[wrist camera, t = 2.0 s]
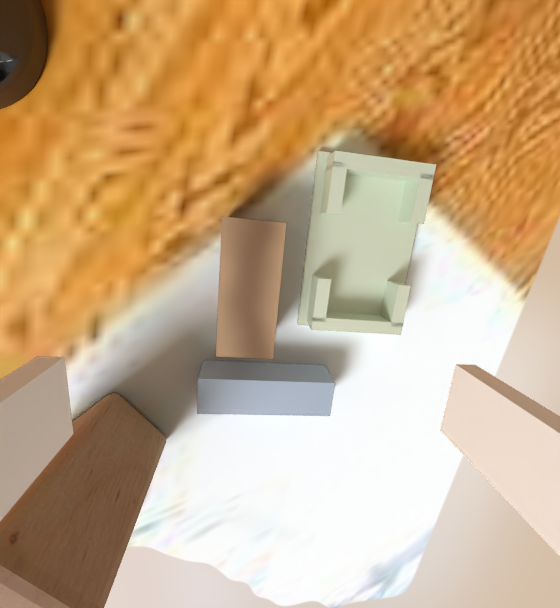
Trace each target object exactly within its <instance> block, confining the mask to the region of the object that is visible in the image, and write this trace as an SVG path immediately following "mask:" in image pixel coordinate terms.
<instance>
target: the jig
mask: <svg viewBox="0 0 560 608" xmlns="http://www.w3.org/2000/svg"><path fill="white" fill-rule="evenodd" d="M435 169H436V164H429V163H422V162H414V161H407V160H400V159H393V158H386V157H379V156H371V155H364V154H357V153H350V152H343V151H336V150H335V151H334V152H333V153H331V152H323V151H318V152H317V160H316V168H315V177H314V185H313V194H312V202H311V210H310V219H309V227H308V236H307V244H306V253H305V261H304V270H303V278H302V287H301V295H300V303H299V312H298V320H297V323H298V325H309V326H310V328H311V330H328V331H345V332H362V333H379V334H396V335H401V331H402V326H403V321H404V316H405V312H406V307H407V302H408V297H409V293H410V288H411V286H410V285H407V284H405V283H406V278H407V273H408V268H409V263H410V258H411V253H412V248H413V243H414V239H415V234H416V229H417V224H424V221H425V216H426V211H427V207H428V202H429V197H430V192H431V188H432V183H433V178H434V173H435Z"/></svg>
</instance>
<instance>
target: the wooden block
mask: <svg viewBox="0 0 560 608" xmlns="http://www.w3.org/2000/svg"><path fill="white" fill-rule="evenodd" d="M72 425H73V435H72V436H71V437H70V438H69V440H68V441H67V442H66V443H65V444H64V446H63V447H62V448H61V449H60V450H59V452H58V453H57V454H56V455H55V456H54V458H53V459H52V460H51V461H50V462H49V464H48V465H47V466H46V467H45V468H44V470H43V471H42V472H41V473H40V474H39V476H38V477H37V478H36V479H35V480H34V482H33V483H32V484H31V485H30V486H29V488H28V489H27V490H26V491H25V492H24V494H23V495H22V496H21V497H20V498H19V499H18V501H17V502H16V503H15V504H14V505H13V507H12V508H11V509H10V510H9V511H8V513H7V514H6V515H5V516H4V517H3V519H2V520H1V521H0V608H104V606H105V604H106V601H107V598H108V596H109V593H110V590H111V588H112V585H113V582H114V579H115V577H116V574H117V571H118V568H119V566H120V563H121V560H122V558H123V555H124V553H125V550H126V547H127V545H128V542H129V539H130V537H131V534H132V531H133V529H134V526H135V523H136V521H137V518H138V515H139V513H140V510H141V507H142V505H143V502H144V499H145V497H146V494H147V491H148V489H149V486H150V483H151V481H152V478H153V475H154V473H155V470H156V467H157V465H158V462H159V459H160V456H161V454H162V451H163V448H164V446H165V443H166V438H165V436H164V435H163V434H162V433H161V432H160V431H159V430H158V429H157V428H156V427H154V426H153V425H152V424H151V423H150V422H149V421H148V420H147V419H146V418H144V417H143V416H142V415H141V414H140V413H139V412H138V411H137V410H136V409H135V408H133V407H132V406H131V405H130V404H129V403H128V402H127V401H126V400H125V399H123V398H122V397H121V396H120V395H119V394H117V393H112V394H110V395H107V396H105V397H104V398H103V399H101V400H100V401H99V402H98V403H96V404H95V405H94V406H92V407H91V408H90V409H89V410H87V411H86V412H85V413H83V414H82V415H81V416H80V417H78V418H77V419H76V420H74V421H73V422H72Z"/></svg>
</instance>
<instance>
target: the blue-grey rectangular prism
mask: <svg viewBox="0 0 560 608" xmlns="http://www.w3.org/2000/svg"><path fill="white" fill-rule="evenodd" d="M334 387H335V382H334V380H333V378H332V377H331V375H330V373H329V371H328V369H327V368H326V366H325V365H311V364H286V363H261V362H236V361H211V360H204V361H203V364H202V367H201V370H200V373H199V376H198V388H197V414H246V415H303V416H330V413H331V407H332V400H333V394H334Z"/></svg>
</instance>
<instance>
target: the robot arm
mask: <svg viewBox="0 0 560 608" xmlns="http://www.w3.org/2000/svg"><path fill="white" fill-rule="evenodd" d="M46 53H47V26H46V20H45V15H44V11H43V8H42V5H41V2H40V0H0V109H1V108H4V107H7V106H9V105H12V104H13V103H15V102H17V101H18V100H20V99H21V98H23V97H24V96H25V95H26V94H27V93H28V92H29V91H30V90H31V89H32V88H33V86H34V85H35V83H36V82H37V80H38V78H39V76H40V74H41V72H42V69H43V66H44V63H45V59H46ZM440 430H441V431H442V432H443V434H444V435H445V436H446V437H447V438H448V439H449V440H450V441H451V442H452V443H453V444H454V445H455V446H456V447H457V448H458V449H459V450H460V451H461V453H462V454H463V455H464V456H465V457H466V458H467V459H468V460H469V461H470V462H471V463H472V464H473V465H474V466H475V467H476V468H477V469H478V470H479V472H480V473H481V474H482V475H483V476H484V477H485V478H486V479H487V480H488V481H489V482H490V483H491V484H492V485H493V486H494V487H495V488H496V489H497V491H498V492H499V493H500V494H501V495H502V496H503V497H504V498H505V499H506V500H507V501H508V502H509V503H510V504H511V505H512V506H513V507H514V509H515V510H516V511H517V512H518V513H519V514H520V515H521V516H522V517H523V518H524V519H525V520H526V521H527V522H528V523H529V524H530V525H531V526H532V527H533V529H534V530H535V531H536V532H537V533H538V534H539V535H540V536H541V537H542V538H543V539H544V540H545V541H546V542H547V543H548V544H549V545H550V546H551V548H552V549H553V550H554V551H555V552H556V553H557V554H558V555H559V556H560V416H558V415H556V414H555V413H553V412H552V411H550V410H548V409H547V408H545V407H543V406H542V405H540V404H539V403H537V402H535V401H534V400H532V399H530V398H529V397H527V396H525V395H524V394H522V393H520V392H519V391H517V390H515V389H514V388H512V387H511V386H509V385H507V384H506V383H504V382H502V381H501V380H499V379H497V378H496V377H494V376H493V375H491V374H489V373H488V372H486V371H484V370H483V369H481V368H479V367H478V366H476V365H456V366H455V370H454V374H453V379H452V383H451V387H450V391H449V396H448V400H447V404H446V408H445V412H444V417H443V421H442V425H441V429H440ZM72 435H73V425H72V417H71V408H70V399H69V391H68V382H67V373H66V365H65V357H44V356H37V357H36V358H34V359H33V360H31V361H29V362H28V363H26V364H24V365H23V366H21V367H20V368H18V369H16V370H15V371H13V372H12V373H10V374H8V375H7V376H5V377H4V378H2V379H0V521H1V520H2V519H3V517H4V516H5V515H6V514H7V513H8V511H9V510H10V509H11V508H12V507H13V505H14V504H15V503H16V502H17V501H18V499H19V498H20V497H21V496H22V495H23V494H24V492H25V491H26V490H27V489H28V488H29V486H30V485H31V484H32V483H33V482H34V480H35V479H36V478H37V477H38V476H39V474H40V473H41V472H42V471H43V470H44V468H45V467H46V466H47V465H48V464H49V462H50V461H51V460H52V459H53V458H54V456H55V455H56V454H57V453H58V452H59V450H60V449H61V448H62V447H63V446H64V444H65V443H66V442H67V441H68V440H69V438H70V437H71V436H72Z"/></svg>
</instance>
